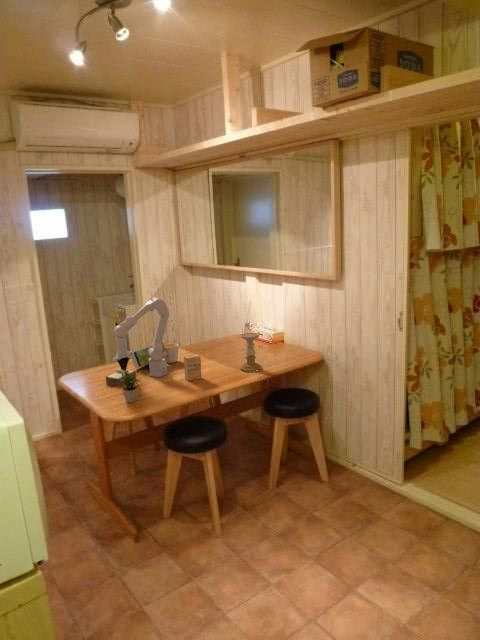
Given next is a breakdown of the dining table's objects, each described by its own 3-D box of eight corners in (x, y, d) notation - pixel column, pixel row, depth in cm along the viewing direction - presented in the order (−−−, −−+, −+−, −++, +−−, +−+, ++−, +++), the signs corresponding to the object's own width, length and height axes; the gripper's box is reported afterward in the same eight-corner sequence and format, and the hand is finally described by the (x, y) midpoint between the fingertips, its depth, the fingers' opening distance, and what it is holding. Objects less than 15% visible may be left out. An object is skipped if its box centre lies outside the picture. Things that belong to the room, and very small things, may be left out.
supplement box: (188, 381, 258) (186, 358, 255) (184, 379, 262) (183, 356, 259) (202, 378, 262) (200, 355, 259) (198, 376, 266) (197, 353, 263)
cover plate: (122, 370, 269) (122, 366, 268) (133, 371, 265) (133, 368, 265) (107, 377, 258) (107, 373, 257) (118, 379, 254) (118, 375, 254)
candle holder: (242, 365, 282) (241, 332, 277) (263, 365, 279) (262, 332, 275) (238, 371, 270) (237, 337, 265) (259, 372, 268) (258, 338, 263)
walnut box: (121, 376, 270) (121, 369, 269) (136, 378, 266) (135, 371, 265) (106, 384, 259) (105, 376, 258) (121, 386, 255) (120, 378, 254)
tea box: (135, 369, 281) (153, 363, 273) (129, 353, 281) (146, 346, 273) (151, 362, 294) (168, 356, 286) (145, 347, 294) (162, 340, 286)
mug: (182, 361, 291) (181, 345, 289) (168, 365, 286) (166, 348, 284) (172, 357, 302) (171, 341, 300) (157, 360, 296) (156, 344, 294)
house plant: (107, 404, 232) (104, 372, 228) (124, 393, 244) (121, 363, 241) (132, 407, 227) (129, 374, 223) (148, 396, 239) (145, 365, 236)
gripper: (124, 343, 269) (126, 366, 272) (107, 350, 256) (109, 374, 259) (134, 344, 266) (136, 367, 269) (117, 351, 253) (119, 375, 256)
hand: (124, 370), depth 264 cm, fingers closed
